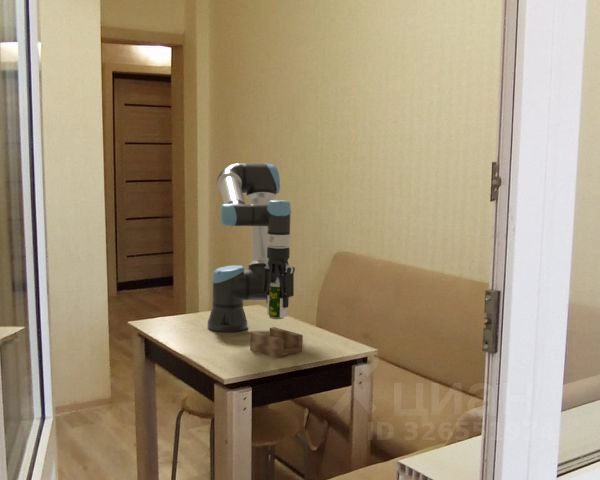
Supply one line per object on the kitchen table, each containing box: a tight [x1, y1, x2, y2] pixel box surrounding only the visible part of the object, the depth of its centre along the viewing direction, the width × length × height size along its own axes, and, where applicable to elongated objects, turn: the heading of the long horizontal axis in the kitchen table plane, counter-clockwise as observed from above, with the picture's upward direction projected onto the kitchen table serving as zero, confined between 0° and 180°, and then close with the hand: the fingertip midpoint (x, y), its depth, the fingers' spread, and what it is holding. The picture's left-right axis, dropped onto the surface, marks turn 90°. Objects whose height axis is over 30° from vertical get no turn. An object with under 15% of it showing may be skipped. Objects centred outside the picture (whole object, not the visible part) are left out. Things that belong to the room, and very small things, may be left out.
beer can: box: [268, 281, 285, 320], centre depth 230 cm, size 5×5×12 cm
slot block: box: [249, 326, 304, 360], centre depth 232 cm, size 14×11×6 cm
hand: (277, 315), depth 230 cm, fingers closed on beer can, 5 cm apart
